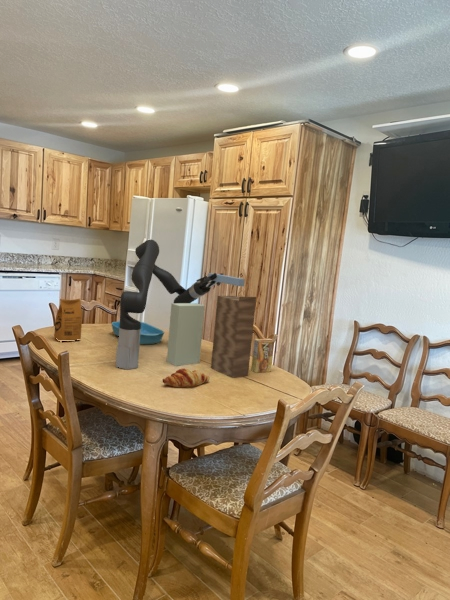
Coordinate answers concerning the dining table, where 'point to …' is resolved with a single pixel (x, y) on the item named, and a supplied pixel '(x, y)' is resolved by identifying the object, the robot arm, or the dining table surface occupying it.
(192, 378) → the croissant
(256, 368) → the candy box
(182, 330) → the step
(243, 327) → the post
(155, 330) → the casserole dish
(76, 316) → the coffee package
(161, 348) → the dining table surface
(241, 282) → the rail
